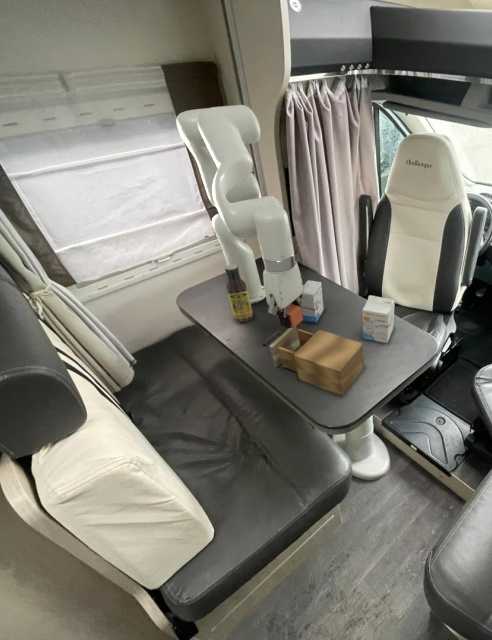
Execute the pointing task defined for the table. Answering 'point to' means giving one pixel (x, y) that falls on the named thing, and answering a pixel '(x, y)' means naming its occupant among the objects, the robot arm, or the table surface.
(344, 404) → the table surface
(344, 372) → the cabinet
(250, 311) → the sauce bottle
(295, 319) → the block
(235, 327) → the table surface
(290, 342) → the drawer
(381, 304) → the ink box
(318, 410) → the table surface
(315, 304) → the ink box
